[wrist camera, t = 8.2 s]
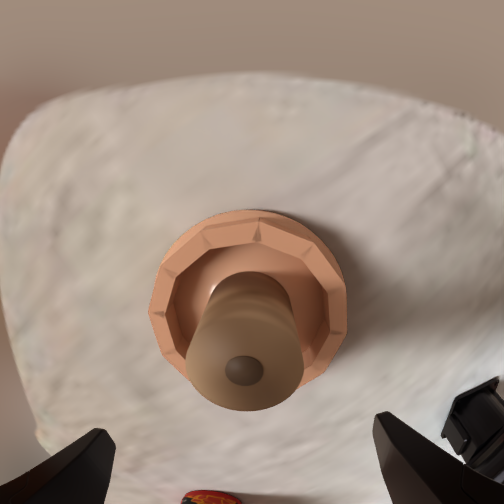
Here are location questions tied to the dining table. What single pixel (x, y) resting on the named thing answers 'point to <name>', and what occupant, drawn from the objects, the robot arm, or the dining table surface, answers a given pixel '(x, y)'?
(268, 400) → the bead
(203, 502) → the canned food
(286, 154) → the dining table surface
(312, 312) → the dish
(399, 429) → the robot arm
